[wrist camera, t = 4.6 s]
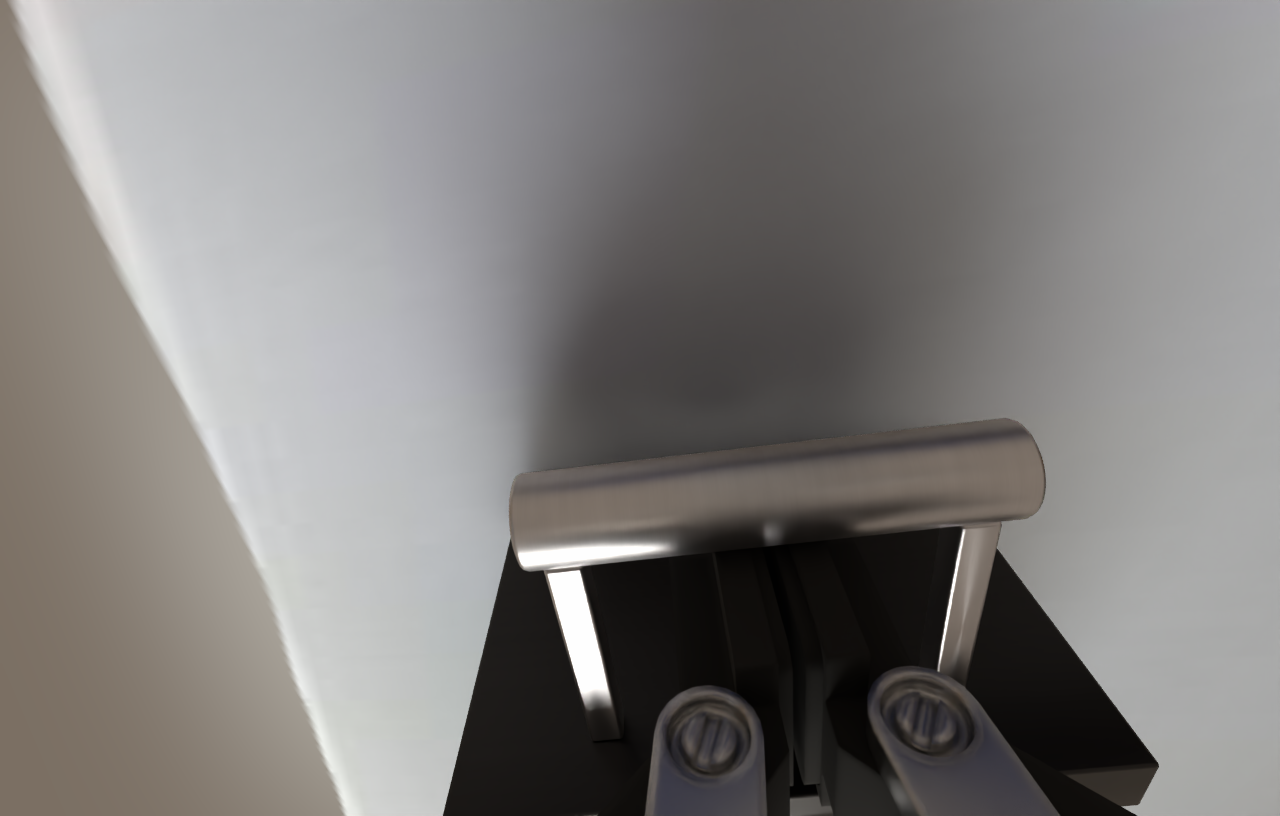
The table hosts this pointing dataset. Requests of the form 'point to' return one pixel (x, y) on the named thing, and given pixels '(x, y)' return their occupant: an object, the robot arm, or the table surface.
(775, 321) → the table surface
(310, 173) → the table surface
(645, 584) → the drawer
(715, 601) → the robot arm
